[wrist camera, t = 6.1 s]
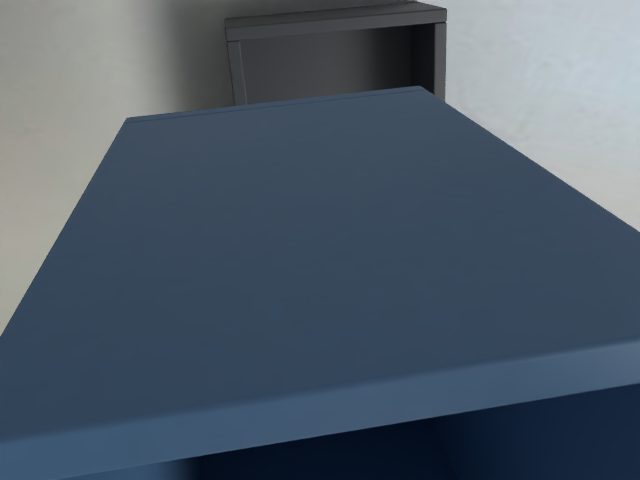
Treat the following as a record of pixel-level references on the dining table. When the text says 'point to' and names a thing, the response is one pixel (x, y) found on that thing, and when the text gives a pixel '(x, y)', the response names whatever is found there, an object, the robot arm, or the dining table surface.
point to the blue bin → (326, 307)
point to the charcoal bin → (337, 52)
